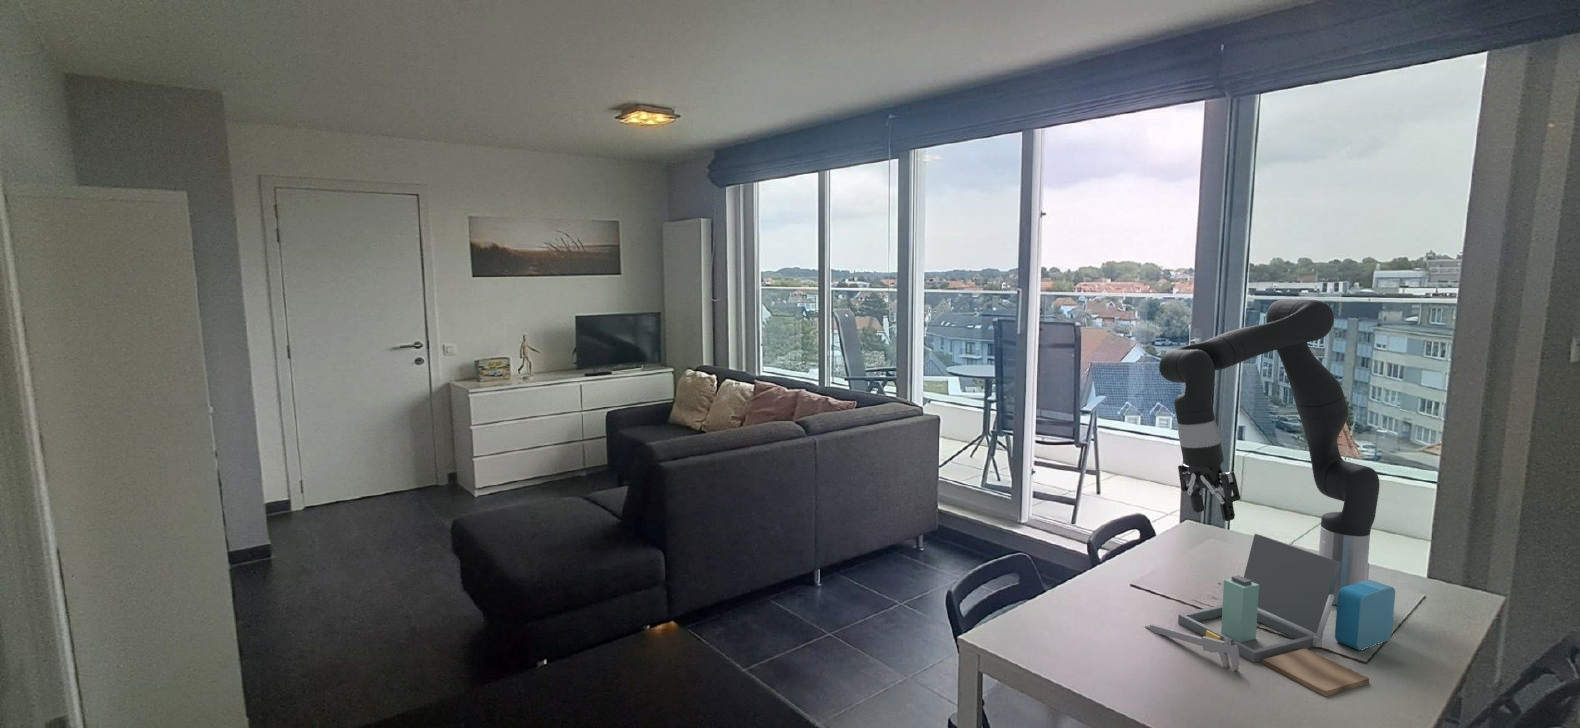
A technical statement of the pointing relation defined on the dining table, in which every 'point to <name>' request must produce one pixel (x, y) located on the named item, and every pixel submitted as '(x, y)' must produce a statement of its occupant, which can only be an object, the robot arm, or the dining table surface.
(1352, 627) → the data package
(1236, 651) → the caliper
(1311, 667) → the walnut board
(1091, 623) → the dining table surface
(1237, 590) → the block
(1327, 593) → the equipment case
